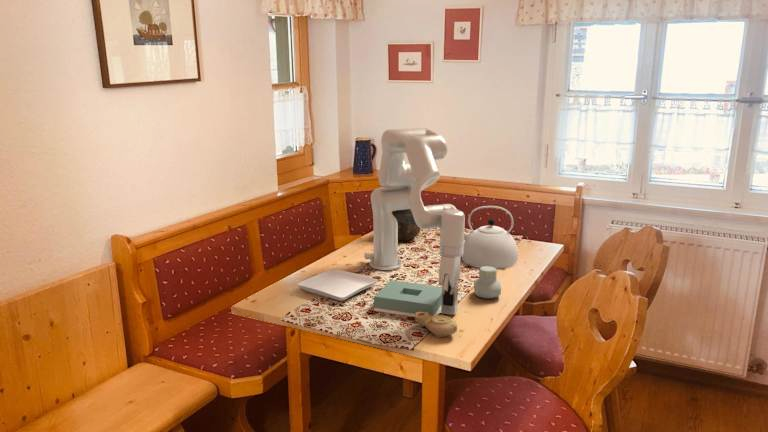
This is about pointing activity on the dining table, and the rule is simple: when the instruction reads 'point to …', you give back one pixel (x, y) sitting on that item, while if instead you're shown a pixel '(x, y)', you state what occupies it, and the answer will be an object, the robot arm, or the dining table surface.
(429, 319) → the oil lamp
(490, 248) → the kettle
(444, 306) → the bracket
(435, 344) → the dining table surface
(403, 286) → the well block
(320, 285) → the salad plate
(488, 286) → the air freshener
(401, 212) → the dark vase
